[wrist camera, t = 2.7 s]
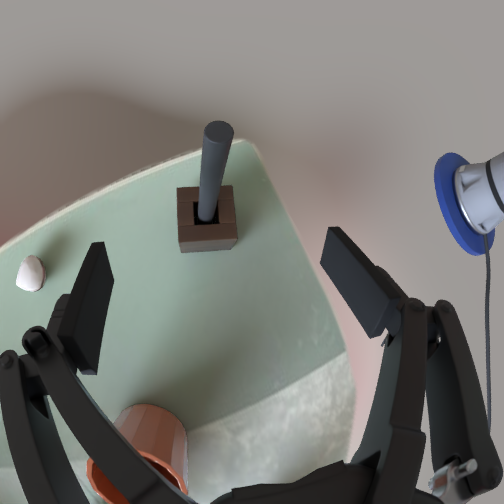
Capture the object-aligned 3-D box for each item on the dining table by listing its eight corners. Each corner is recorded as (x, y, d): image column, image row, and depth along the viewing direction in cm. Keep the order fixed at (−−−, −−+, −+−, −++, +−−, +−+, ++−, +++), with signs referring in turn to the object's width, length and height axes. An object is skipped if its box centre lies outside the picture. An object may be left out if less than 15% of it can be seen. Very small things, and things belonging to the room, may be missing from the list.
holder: (230, 249, 31) (237, 238, 26) (181, 253, 30) (178, 242, 25) (226, 203, 32) (232, 184, 27) (178, 205, 31) (176, 187, 26)
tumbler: (201, 448, 25) (207, 502, 15) (144, 471, 23) (131, 524, 12) (159, 392, 26) (143, 433, 15) (102, 418, 24) (67, 460, 13)
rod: (213, 230, 31) (239, 137, 14) (201, 236, 31) (212, 147, 13) (207, 218, 31) (225, 116, 14) (194, 224, 31) (199, 126, 13)
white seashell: (53, 285, 26) (43, 282, 23) (26, 300, 24) (15, 299, 22) (43, 252, 26) (33, 248, 24) (17, 269, 25) (6, 266, 22)
